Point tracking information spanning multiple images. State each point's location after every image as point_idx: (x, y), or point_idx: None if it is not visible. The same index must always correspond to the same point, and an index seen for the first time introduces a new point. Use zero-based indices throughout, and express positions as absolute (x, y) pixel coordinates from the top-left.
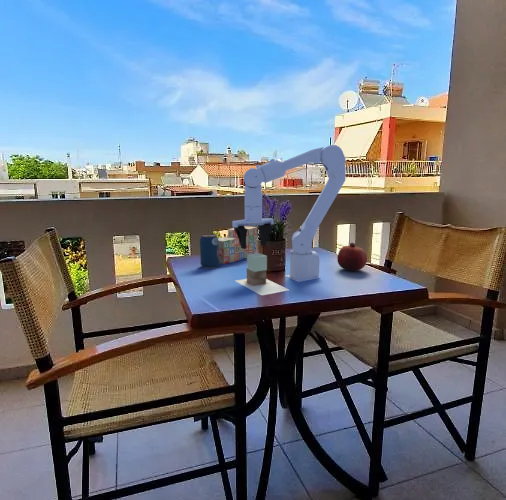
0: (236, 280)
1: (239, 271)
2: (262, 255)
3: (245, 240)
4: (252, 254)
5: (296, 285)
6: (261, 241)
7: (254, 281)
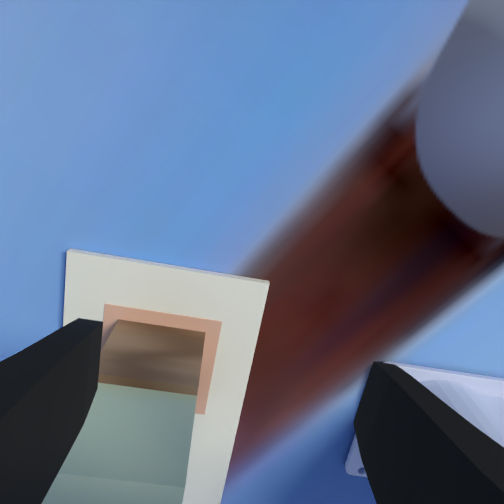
0: (80, 256)
1: (259, 45)
2: None
3: (32, 501)
4: (92, 489)
5: (307, 483)
6: (392, 408)
7: None
